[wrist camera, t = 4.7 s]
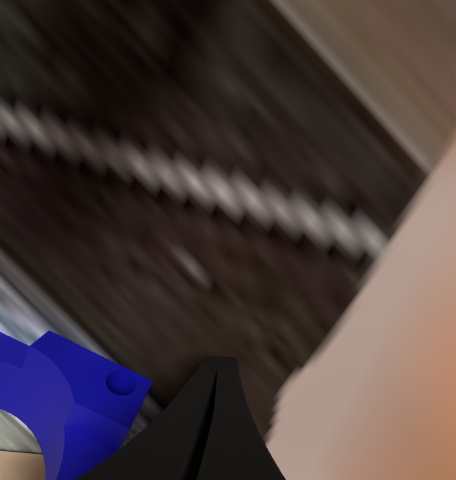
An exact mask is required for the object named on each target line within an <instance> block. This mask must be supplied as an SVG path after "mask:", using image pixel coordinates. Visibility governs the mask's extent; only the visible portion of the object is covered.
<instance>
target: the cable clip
mask: <svg viewBox="0 0 456 480" xmlns="http://www.w3.org/2000/svg"><path fill="white" fill-rule="evenodd" d="M152 382H153V381H151V380H149V379H147V378H145V377H143V376H141V375H139V374H137V373H135V372H133V371H131V370H129V369H127V368H125V367H123V366H121V365H118V364H116V363H114V362H112V361H110V360H108V359H106V358H104V357H102V356H100V355H98V354H96V353H94V352H92V351H90V350H88V349H86V348H84V347H82V346H80V345H78V344H76V343H74V342H72V341H70V340H68V339H66V338H64V337H62V336H60V335H58V334H56V333H53V332H51V331H48V332H47V333H45V334H44V335H43V336H42V337H40V338H39V339H38V340H37V341H35V342H34V343H33V344H32V345H30V346H28V345H26V344H24V343H22V342H20V341H18V340H16V339H14V338H12V337H10V336H7V335H5V334H3V333H1V332H0V409H2V410H4V411H7V412H9V413H11V414H12V415H14V416H15V417H17V418H19V419H20V420H21V421H22V422H23V423H25V424H26V425H27V427H28V428H29V429H30V430H31V431H32V432H33V434H34V436H35V437H36V439H37V441H38V443H39V445H40V447H41V450H42V453H43V457H44V463H45V475H46V479H45V480H75V479H77V478H78V477H80V476H81V475H83V474H85V473H86V472H88V471H90V470H91V469H93V468H94V467H96V466H97V465H99V464H100V463H102V462H103V461H104V460H106V459H107V458H109V457H110V456H111V455H113V454H114V453H115V452H117V451H118V450H119V449H120V447H121V445H122V443H123V441H124V439H125V437H126V435H127V433H128V432H129V430H130V428H131V426H132V423H133V421H134V419H135V417H136V415H137V413H138V411H139V409H140V407H141V405H142V403H143V401H144V399H145V397H146V395H147V392H148V390H149V388H150V386H151V384H152Z"/></svg>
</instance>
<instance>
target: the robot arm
mask: <svg viewBox="0 0 456 480" xmlns="http://www.w3.org/2000/svg"><path fill="white" fill-rule="evenodd" d="M75 480H286V479H285V478H284V476H283V475H282V473H281V472H280V470H279V468H278V466H277V465H276V463H275V461H274V460H273V458H272V456H271V454H270V453H269V451H268V449H267V447H266V445H265V443H264V441H263V439H262V437H261V435H260V433H259V431H258V429H257V427H256V424H255V422H254V420H253V417H252V415H251V412H250V409H249V407H248V404H247V401H246V398H245V395H244V391H243V388H242V384H241V380H240V375H239V360H238V359H237V358H236V357H221V356H206V357H205V358H204V359H203V360H202V362H201V363H200V365H199V366H198V368H197V369H196V371H195V372H194V374H193V375H192V376H191V378H190V379H189V380H188V382H187V383H186V384H185V386H184V387H183V388H182V389H181V391H180V392H179V393H178V394H177V395H176V397H175V398H174V399H173V400H172V401H171V402H170V403H169V404H168V406H167V407H166V408H165V409H164V410H163V411H162V412H161V413H160V414H159V415H158V416H157V417H156V418H155V419H154V420H153V421H152V422H151V423H150V424H149V425H148V426H147V427H146V428H145V429H143V430H142V431H141V432H140V433H139V434H138V435H137V436H135V437H134V438H133V439H132V440H131V441H130V442H128V443H127V444H126V445H125V446H123V447H122V448H121V449H119V450H118V451H117V452H115V453H114V454H113V455H111V456H110V457H109V458H107V459H106V460H104V461H103V462H102V463H100V464H99V465H97V466H96V467H94V468H93V469H91V470H90V471H88V472H86V473H85V474H83V475H81V476H80V477H78V478H77V479H75Z"/></svg>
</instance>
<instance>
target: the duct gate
mask: <svg viewBox="0 0 456 480" xmlns="http://www.w3.org/2000/svg"><path fill="white" fill-rule="evenodd" d="M45 479H46V475H45V463H44V457H43V455H42V454H31V453H20V452H9V451H0V480H45Z"/></svg>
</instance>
